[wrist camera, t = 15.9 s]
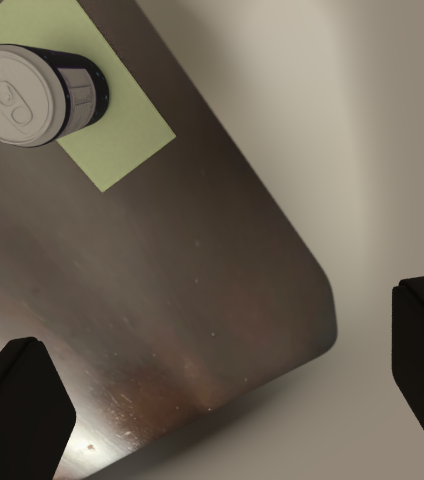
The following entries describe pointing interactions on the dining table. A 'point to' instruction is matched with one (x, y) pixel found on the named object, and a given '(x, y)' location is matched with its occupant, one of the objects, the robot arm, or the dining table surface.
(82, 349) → the dining table surface
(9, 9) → the side mat
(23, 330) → the dining table surface
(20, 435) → the robot arm
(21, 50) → the beverage can
